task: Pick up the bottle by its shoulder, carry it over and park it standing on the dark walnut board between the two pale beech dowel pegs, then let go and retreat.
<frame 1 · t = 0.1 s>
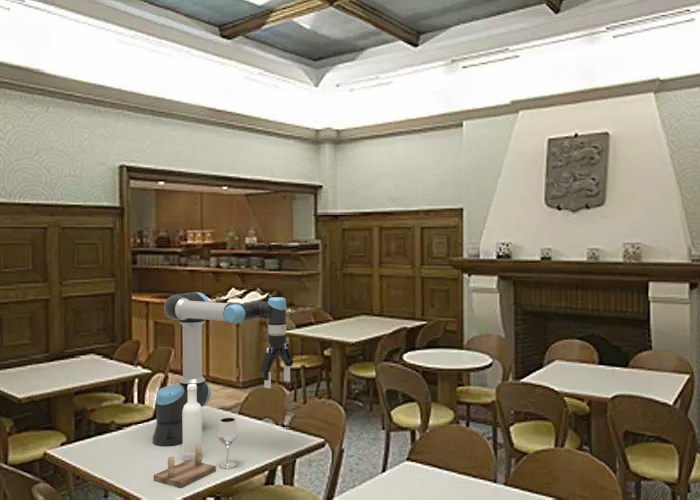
hand: (277, 384, 251), 28 cm above the table, fingers open, 13 cm apart
stand: (185, 475, 224), on the table
wineglass: (228, 465, 235), on the table
bottle: (192, 458, 243), on the table
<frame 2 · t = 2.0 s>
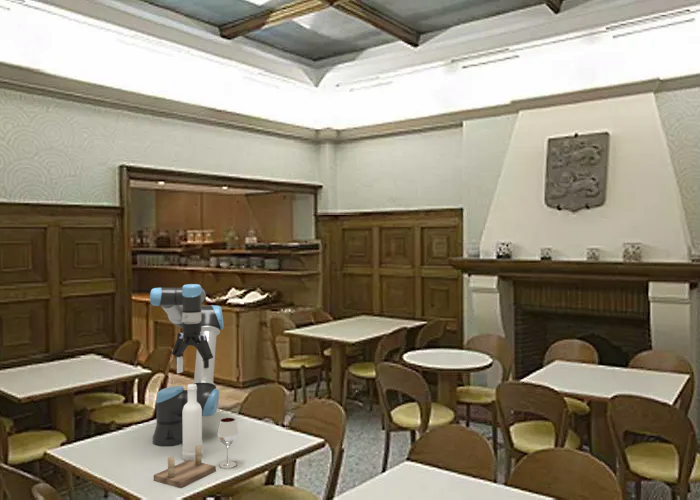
hand: (192, 374, 242), 34 cm above the table, fingers open, 13 cm apart
nothing on the table moved.
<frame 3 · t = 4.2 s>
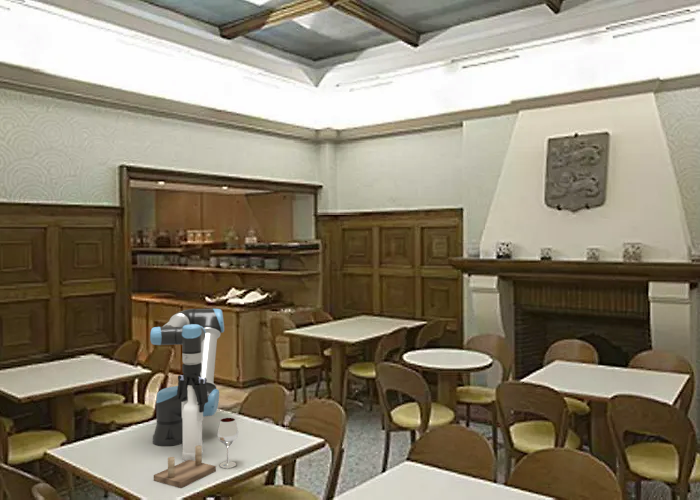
hand: (192, 418, 243), 16 cm above the table, fingers closed on bottle, 8 cm apart
bottle: (192, 458, 243), on the table, touching gripper
everything else where it was.
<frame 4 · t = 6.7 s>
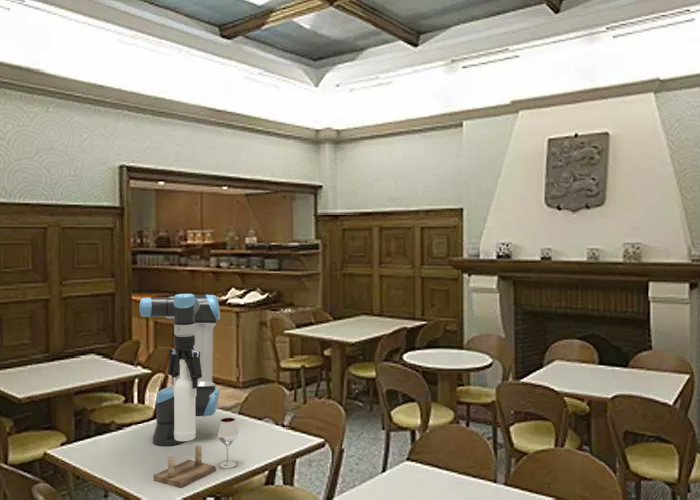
hand: (184, 395, 224), 30 cm above the table, fingers closed on bottle, 8 cm apart
bottle: (185, 438, 224), point 14 cm above the table, touching gripper
everything else where it was.
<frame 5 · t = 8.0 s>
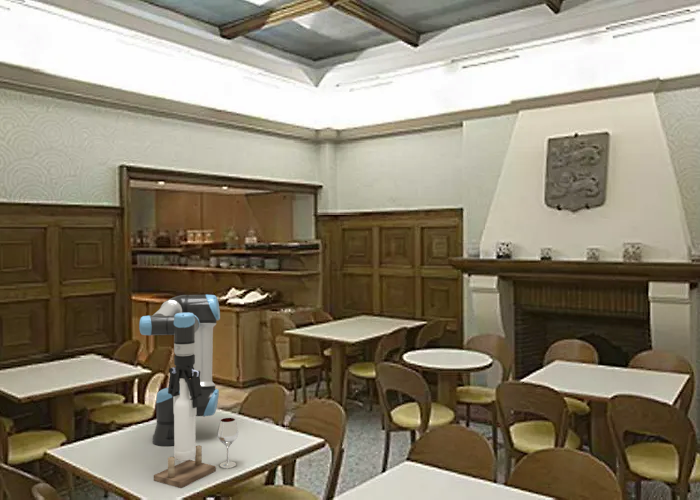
hand: (184, 414, 224), 23 cm above the table, fingers closed on bottle, 8 cm apart
bottle: (185, 457, 224), point 7 cm above the table, touching gripper
everything else where it was.
when the fingers open (20 cm above the table, at t = 9.1 s): bottle drops 1 cm, resting on stand.
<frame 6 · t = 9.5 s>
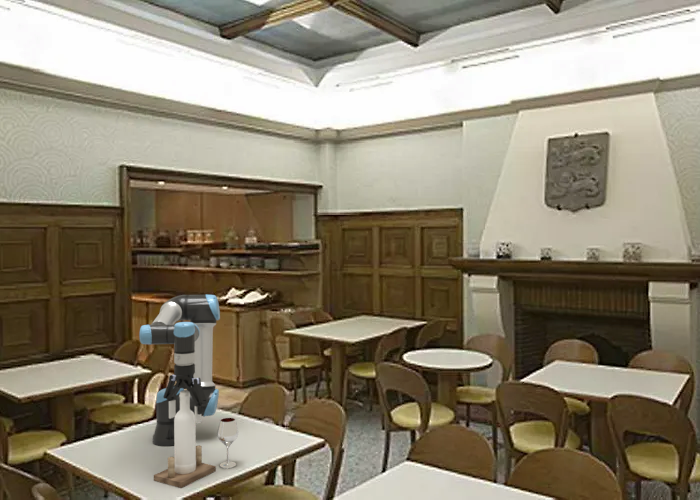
hand: (184, 420, 224), 21 cm above the table, fingers open, 13 cm apart
bottle: (185, 470, 224), point 2 cm above the table, touching stand
everything else where it was.
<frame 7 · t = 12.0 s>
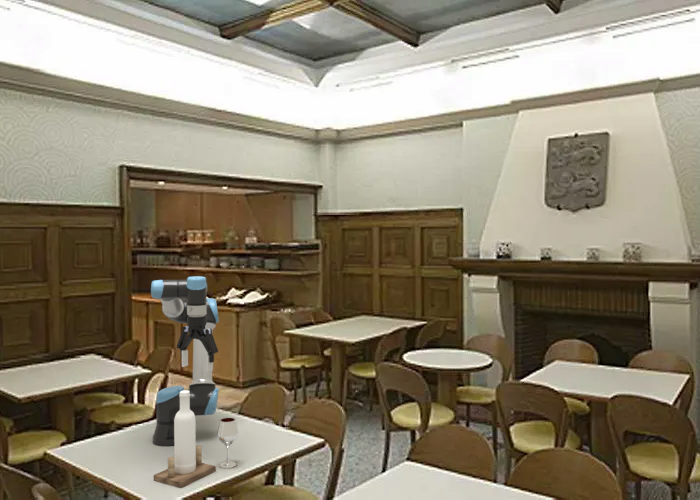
hand: (197, 368, 237), 38 cm above the table, fingers open, 13 cm apart
nothing on the table moved.
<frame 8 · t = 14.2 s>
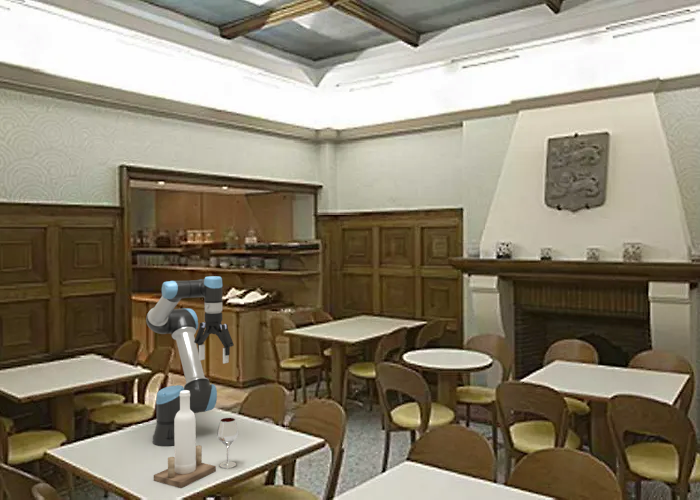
hand: (213, 361, 256), 37 cm above the table, fingers open, 13 cm apart
nothing on the table moved.
at the end: bottle 0.1 cm from the stand (horizontally); bottle tilted 0°; bottle touching stand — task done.
